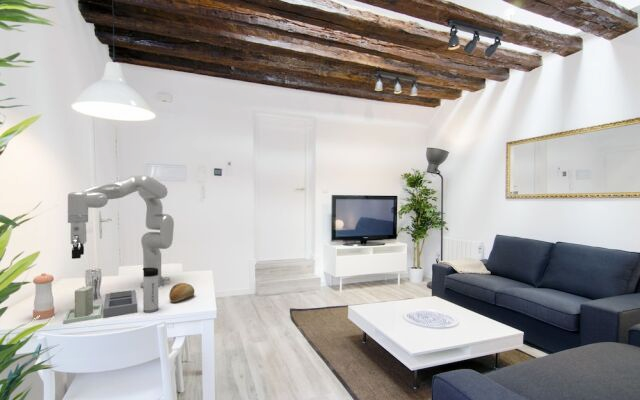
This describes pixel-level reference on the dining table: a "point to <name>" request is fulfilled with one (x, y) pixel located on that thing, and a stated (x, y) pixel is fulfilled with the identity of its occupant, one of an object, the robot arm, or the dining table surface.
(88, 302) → the skincare box
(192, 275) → the dining table surface
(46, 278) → the salt shaker
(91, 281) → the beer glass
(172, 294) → the bread roll
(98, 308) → the tray
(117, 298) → the socket strip
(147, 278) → the travel mug
